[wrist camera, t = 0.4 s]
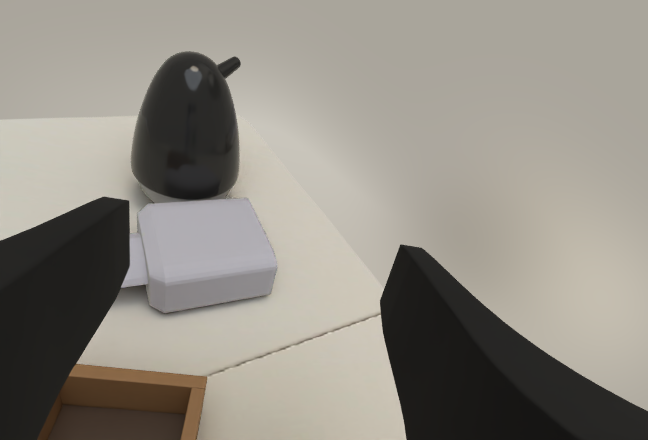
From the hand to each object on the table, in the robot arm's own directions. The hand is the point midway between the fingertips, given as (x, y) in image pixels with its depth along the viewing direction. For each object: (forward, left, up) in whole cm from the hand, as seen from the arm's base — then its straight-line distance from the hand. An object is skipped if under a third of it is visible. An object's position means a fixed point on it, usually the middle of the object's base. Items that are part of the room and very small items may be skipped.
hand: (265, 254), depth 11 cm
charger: (+18, +6, -21) cm, 28 cm away
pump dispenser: (+29, +7, -21) cm, 36 cm away
